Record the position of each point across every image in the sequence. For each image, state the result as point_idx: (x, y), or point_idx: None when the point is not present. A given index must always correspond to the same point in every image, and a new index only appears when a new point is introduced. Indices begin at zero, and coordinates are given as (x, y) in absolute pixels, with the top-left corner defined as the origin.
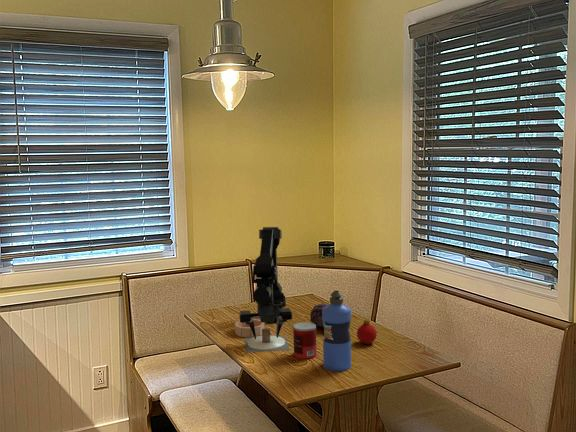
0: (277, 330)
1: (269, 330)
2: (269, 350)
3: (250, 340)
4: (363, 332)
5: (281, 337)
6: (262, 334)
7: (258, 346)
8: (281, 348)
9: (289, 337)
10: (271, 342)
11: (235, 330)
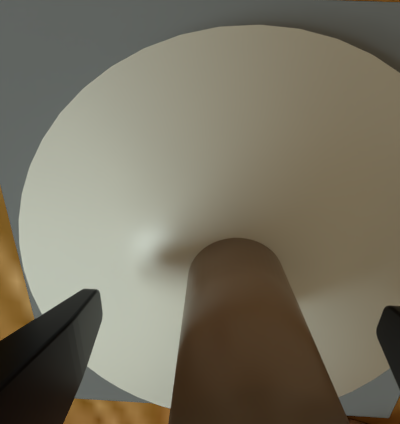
0: (7, 374)
1: (187, 401)
2: (240, 17)
3: None
4: None
5: None
6: (316, 348)
7: (379, 138)
8: (69, 65)
9: None
10: (180, 241)
11: None
